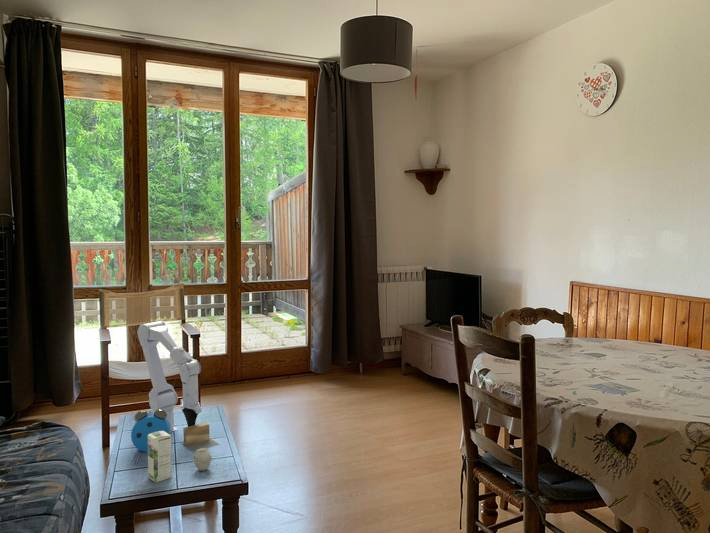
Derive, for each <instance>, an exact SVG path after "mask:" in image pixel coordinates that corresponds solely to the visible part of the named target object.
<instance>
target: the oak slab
mask: <svg viewBox="0 0 710 533" xmlns="http://www.w3.org/2000/svg"><path fill="white" fill-rule="evenodd" d="M210 437H211V436H210V423H208V422H206V421H205V422H200V423H197V424H195V425H193V426H189V427H188V426H185V427H183V442H184V444H185V445H187V446H188V445H192V444H195V443H199V442H203V441H206V440H210V439H211V438H210Z"/></svg>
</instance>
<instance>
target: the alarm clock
mask: <svg viewBox="0 0 710 533" xmlns="http://www.w3.org/2000/svg"><path fill="white" fill-rule="evenodd" d="M152 411H153V410H150V411H148V412H147V410H144V409H141V410H138V411H137V412H136V413H135V414H134V417H133V419H134V420H133V421H135V423H134V425H133V426H132V429H131V432H130V433H131V434H130V438H131V439H130V440H131V443H132V444H133V446H134V447H135V448H136V449H138V450H139V451H141V452H144V453H148V434H151V433H154V432H158V431H165V432H166V433H168V434H169V435H171V433H172V432H171V426H170V422H169V420H168V419H167V413H166V411H165V410H163V409H157V410H155V412H152Z"/></svg>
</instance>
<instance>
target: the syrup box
mask: <svg viewBox="0 0 710 533" xmlns="http://www.w3.org/2000/svg"><path fill="white" fill-rule="evenodd" d="M147 473H148V474H147V475H148V479H150V480H151V481H153V483H159V482H162V481H165V480H167V479H171V478H172V475H173V474H172V435H171V434H170V435H169V434H168V433H166V432H165V431H158V432H154V433H151V434H148V452H147Z"/></svg>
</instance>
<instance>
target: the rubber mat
mask: <svg viewBox="0 0 710 533" xmlns="http://www.w3.org/2000/svg"><path fill="white" fill-rule="evenodd" d="M180 444H181V445H183V446H184V447H185V448H187V449H188V450H190V451H191V452H192V453H196V451H197V450H198V449H201V448H207V449H210V448H211V447H216V446H219V445H220V443H218V442H216V441H215V440H213V439H212V438H210V440H206V441H203V442H199V443H195V444H192V445H188V446H187V445H185V444H184V441H180Z"/></svg>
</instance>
